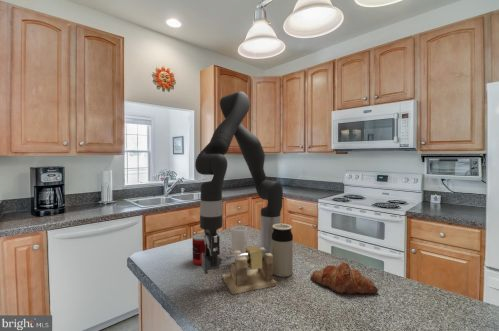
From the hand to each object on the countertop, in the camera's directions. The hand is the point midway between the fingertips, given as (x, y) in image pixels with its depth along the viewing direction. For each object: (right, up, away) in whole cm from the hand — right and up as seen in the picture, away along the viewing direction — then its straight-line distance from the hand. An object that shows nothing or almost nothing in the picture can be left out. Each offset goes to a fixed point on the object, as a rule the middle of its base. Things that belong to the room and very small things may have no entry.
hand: (211, 261), depth 85 cm
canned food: (-7, -9, +22) cm, 25 cm away
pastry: (+45, -10, +2) cm, 46 cm away
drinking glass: (+9, -9, +19) cm, 23 cm away
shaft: (+8, -3, +3) cm, 9 cm away
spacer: (+14, -1, +5) cm, 15 cm away
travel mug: (+25, -9, +12) cm, 29 cm away
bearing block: (+13, -9, +5) cm, 16 cm away
